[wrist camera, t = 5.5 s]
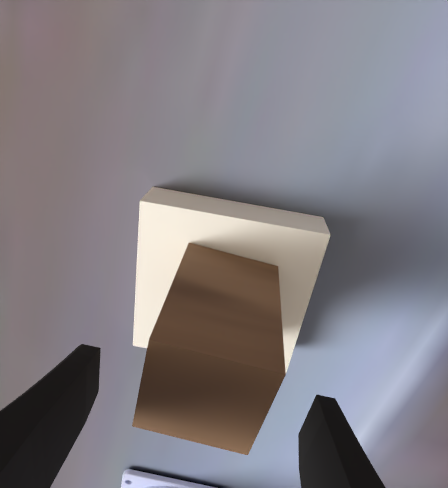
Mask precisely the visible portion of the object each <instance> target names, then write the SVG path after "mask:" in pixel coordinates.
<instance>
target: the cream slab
mask: <svg viewBox="0 0 448 488" xmlns="http://www.w3.org/2000/svg"><path fill="white" fill-rule="evenodd" d="M330 236H331V234H330V232H329V230H328V227H327V225H326V222H325V220H324V218H323V217H320V216H314V215H308V214H303V213H297V212H292V211H286V210H280V209H275V208H269V207H264V206H258V205H252V204H247V203H241V202H236V201H230V200H224V199H219V198H213V197H208V196H202V195H196V194H191V193H185V192H180V191H174V190H168V189H163V188H157V187H152V188H151V189H150V190H149V191H148V192H147V193H146V195H145V196H144V197H143V198H142V199H141V200H140V209H139V230H138V251H137V272H136V293H135V313H134V334H133V346H138V347H144V348H147V347H148V342H149V338H150V336H151V333H152V331H153V328H154V326H155V323H156V321H157V319H158V316H159V314H160V311H161V309H162V306H163V304H164V302H165V299H166V297H167V294H168V292H169V289H170V287H171V284H172V282H173V280H174V277H175V275H176V272H177V270H178V267H179V265H180V263H181V260H182V258H183V255H184V253H185V250H186V248H187V246H188V243H193V244H196V245H200V246H204V247H208V248H212V249H215V250H219V251H223V252H227V253H230V254H234V255H238V256H242V257H245V258H249V259H253V260H257V261H261V262H264V263H268V264H272V265H276V266H278V271H279V285H280V300H281V314H282V329H283V343H284V358H285V373H286V372H287V369H288V366H289V362H290V359H291V356H292V353H293V350H294V347H295V344H296V341H297V338H298V335H299V331H300V328H301V325H302V322H303V319H304V316H305V313H306V310H307V307H308V304H309V301H310V297H311V294H312V291H313V288H314V285H315V282H316V279H317V276H318V273H319V270H320V266H321V263H322V260H323V257H324V254H325V251H326V248H327V245H328V242H329V239H330Z"/></svg>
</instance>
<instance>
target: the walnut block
mask: <svg viewBox="0 0 448 488" xmlns="http://www.w3.org/2000/svg"><path fill="white" fill-rule="evenodd" d="M285 375H286V373H285V358H284V343H283V329H282V314H281V300H280V285H279V271H278V266H276V265H272V264H268V263H264V262H261V261H257V260H253V259H249V258H245V257H242V256H238V255H234V254H230V253H227V252H223V251H219V250H215V249H212V248H208V247H204V246H200V245H196V244H193V243H188V246H187V248H186V250H185V253H184V255H183V258H182V260H181V263H180V265H179V267H178V270H177V272H176V275H175V277H174V280H173V282H172V284H171V287H170V289H169V292H168V294H167V297H166V299H165V302H164V304H163V306H162V309H161V311H160V314H159V316H158V319H157V321H156V323H155V326H154V328H153V331H152V333H151V336H150V338H149V342H148V347H147V352H146V357H145V363H144V368H143V373H142V378H141V383H140V389H139V394H138V399H137V404H136V409H135V415H134V420H133V425H132V426H133V427H137V428H141V429H145V430H149V431H153V432H157V433H161V434H165V435H169V436H173V437H177V438H181V439H185V440H189V441H193V442H197V443H201V444H205V445H209V446H213V447H217V448H221V449H225V450H229V451H233V452H237V453H241V454H245V455H248V454H249V451H250V449H251V447H252V445H253V443H254V441H255V439H256V437H257V434H258V432H259V430H260V428H261V426H262V424H263V422H264V420H265V417H266V415H267V413H268V411H269V409H270V407H271V405H272V403H273V400H274V398H275V396H276V394H277V392H278V390H279V388H280V386H281V383H282V381H283V379H284V377H285Z"/></svg>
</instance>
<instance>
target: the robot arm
mask: <svg viewBox="0 0 448 488" xmlns="http://www.w3.org/2000/svg"><path fill="white" fill-rule="evenodd" d="M99 368H100V348H98V347H93V346H89V345H84V344H82V345H80V346H78V347H77V348H76V349H75V350H74V351H73V352H72V353H71V354H69V355H68V356H67V357H66V358H65V359H64V360H63V361H62V362H60V363H59V364H58V365H57V366H56V367H55V368H54V369H52V370H51V371H50V372H49V373H48V374H47V375H45V376H44V377H43V378H42V379H41V380H39V381H38V382H37V383H36V384H34V385H33V386H32V387H31V388H29V389H28V390H27V391H26V392H25V393H23V394H22V395H21V396H19V397H18V398H17V399H16V400H14V401H13V402H12V403H10V404H9V405H8V406H6V407H5V408H3V409H2V410H1V411H0V488H50V487H51V485H52V483H53V481H54V479H55V478H56V476H57V474H58V472H59V470H60V468H61V467H62V465H63V463H64V461H65V459H66V458H67V456H68V454H69V452H70V450H71V448H72V447H73V445H74V443H75V441H76V439H77V437H78V436H79V434H80V432H81V430H82V428H83V426H84V424H85V422H86V420H87V418H88V415H89V413H90V411H91V408H92V406H93V404H94V401H95V399H96V396H97V394H98V390H99ZM299 472H300V480H301V488H385V486H384V484H383V483H382V481H381V479H380V478H379V476H378V475H377V473H376V471H375V469H374V468H373V466H372V464H371V463H370V461H369V459H368V458H367V456H366V454H365V452H364V451H363V449H362V447H361V445H360V444H359V442H358V440H357V438H356V436H355V434H354V433H353V431H352V429H351V427H350V425H349V423H348V422H347V420H346V418H345V416H344V414H343V412H342V410H341V408H340V407H339V405H338V403H337V401H336V400H335V398H330V397H325V396H321V395H316V397H315V399H314V401H313V404H312V406H311V408H310V410H309V412H308V415H307V417H306V419H305V421H304V424H303V426H302V428H301V430H300V432H299ZM121 488H216V487H211V486H206V485H202V484H197V483H192V482H188V481H183V480H178V479H174V478H169V477H164V476H160V475H155V474H150V473H146V472H141V471H136V470H131V469H127V470H125V471H124V473H123V476H122V485H121Z"/></svg>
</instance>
